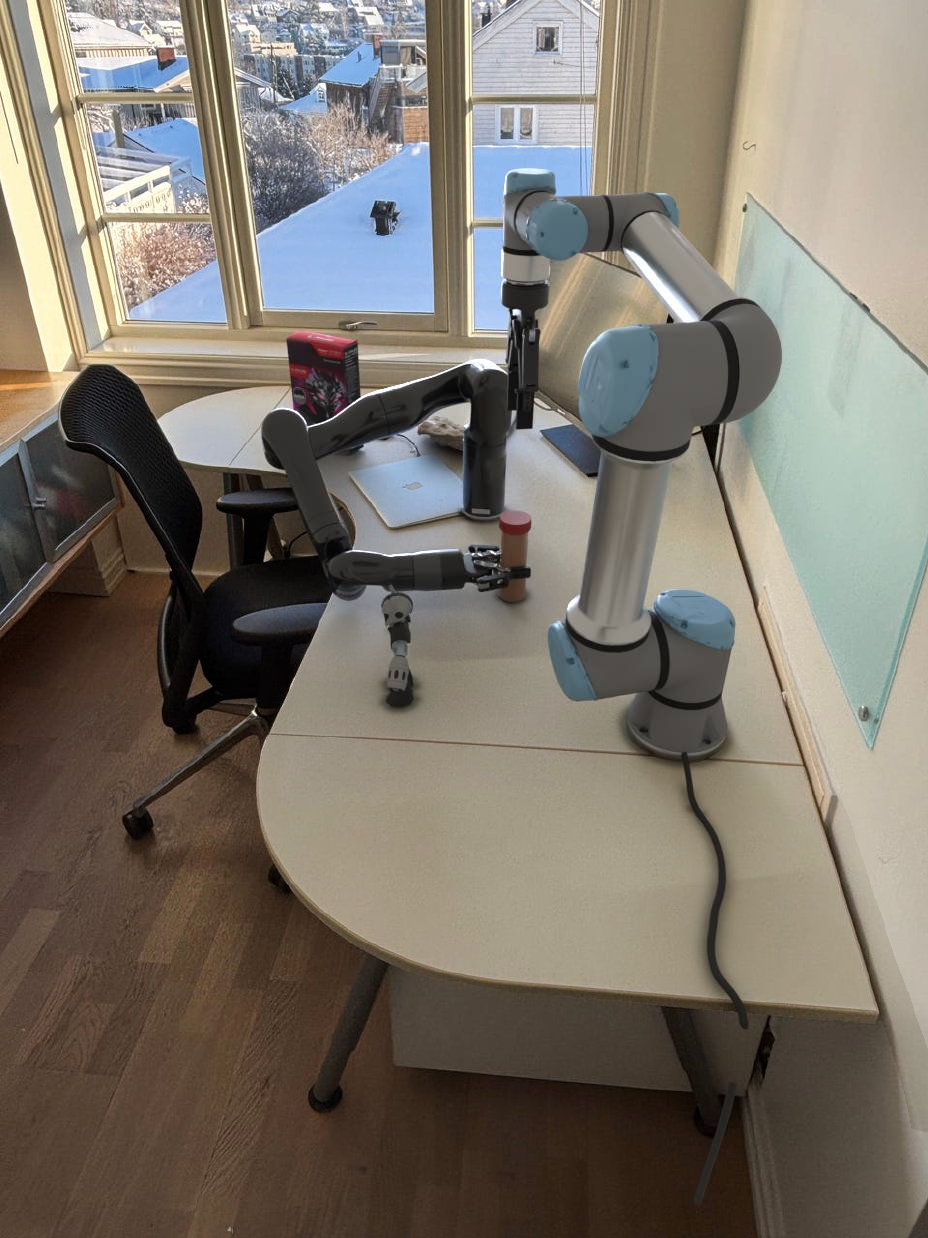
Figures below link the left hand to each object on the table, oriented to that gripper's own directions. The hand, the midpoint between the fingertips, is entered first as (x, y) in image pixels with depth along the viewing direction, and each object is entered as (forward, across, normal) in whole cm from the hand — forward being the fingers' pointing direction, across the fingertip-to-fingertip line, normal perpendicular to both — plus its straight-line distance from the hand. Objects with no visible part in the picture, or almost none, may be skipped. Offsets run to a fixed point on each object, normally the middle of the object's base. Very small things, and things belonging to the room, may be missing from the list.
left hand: (527, 564), depth 172 cm
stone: (-4, -71, -7) cm, 72 cm away
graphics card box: (-36, -75, -7) cm, 83 cm away
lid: (-3, 0, +10) cm, 10 cm away
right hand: (-3, 0, +29) cm, 29 cm away
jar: (-3, 0, -7) cm, 7 cm away
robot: (-26, +27, -7) cm, 38 cm away
